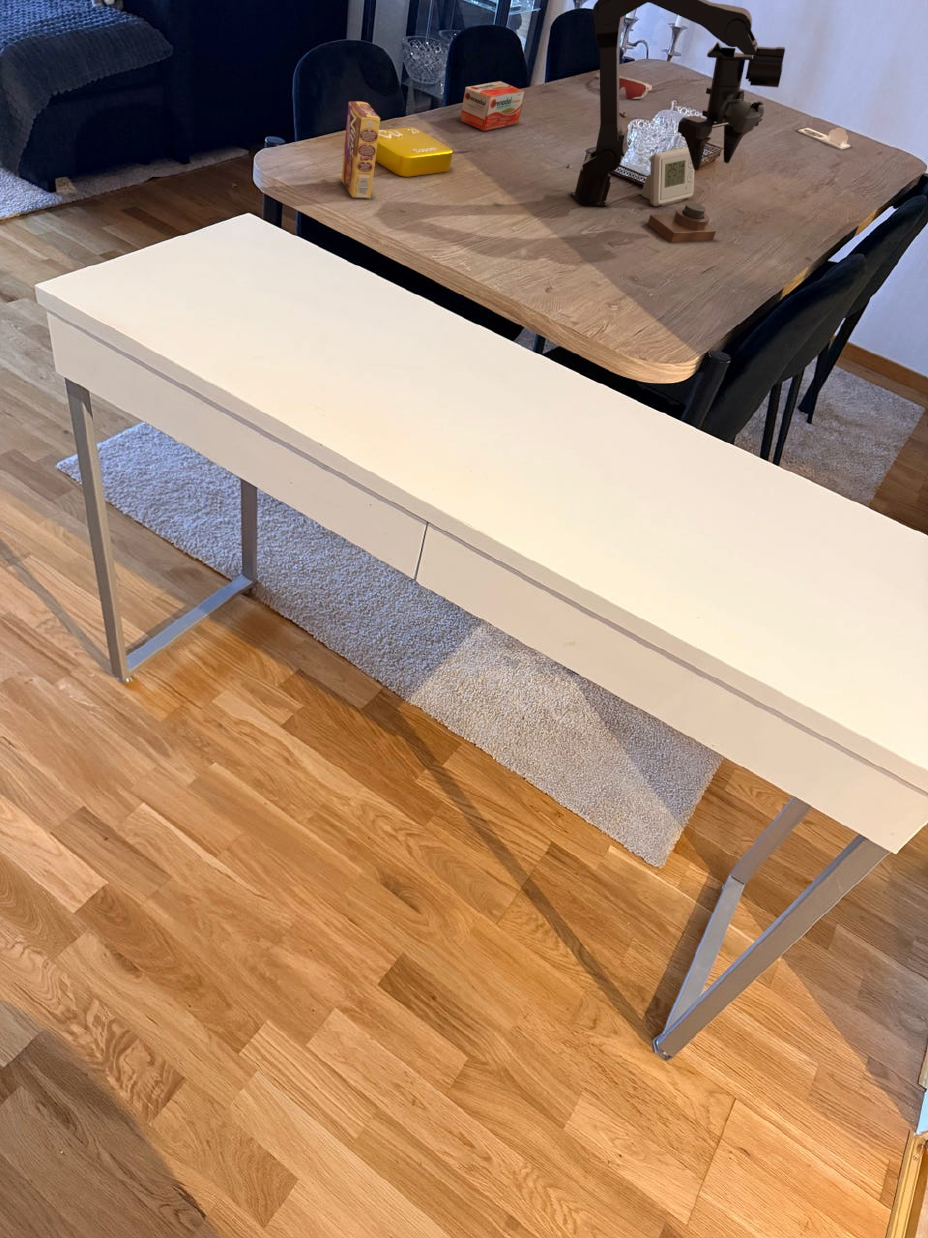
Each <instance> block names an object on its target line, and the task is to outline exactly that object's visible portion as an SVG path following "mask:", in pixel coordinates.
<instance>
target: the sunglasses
mask: <svg viewBox="0 0 928 1238" xmlns="http://www.w3.org/2000/svg"><path fill="white" fill-rule="evenodd" d="M595 76H596V77H597V78H598V79H599V80H598V84H600V72H597V73H596V75H595ZM623 88H624V90H625V94H626V98H627V99H632V100H634V99H635V100H638V99H643V98H645V96H647V94H648V92H649V91H652V89H653V85H651V84H649V83H647V82H644V81H640V80H637V79H633V78H631V77H627V76H623V75H619V91H621V90H622V89H623Z"/></svg>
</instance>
